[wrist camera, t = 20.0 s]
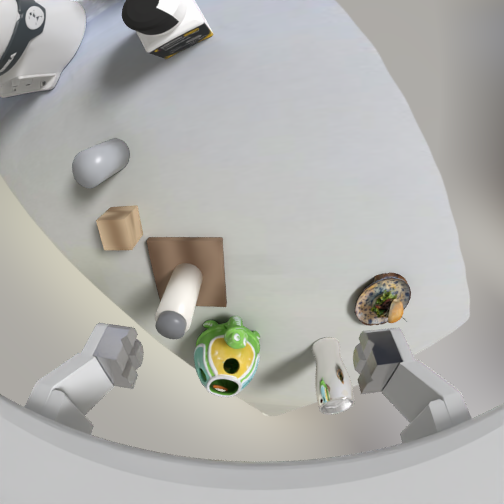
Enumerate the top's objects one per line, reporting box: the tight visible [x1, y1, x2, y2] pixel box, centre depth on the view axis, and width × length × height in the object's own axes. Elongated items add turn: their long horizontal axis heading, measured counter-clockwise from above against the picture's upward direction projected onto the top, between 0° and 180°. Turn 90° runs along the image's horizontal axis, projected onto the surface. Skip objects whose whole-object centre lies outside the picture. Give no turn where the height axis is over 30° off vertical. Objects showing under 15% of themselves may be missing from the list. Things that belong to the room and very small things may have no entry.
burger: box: [355, 273, 411, 326], centre depth 46 cm, size 12×12×8 cm
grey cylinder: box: [72, 138, 130, 188], centre depth 32 cm, size 5×5×8 cm
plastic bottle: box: [155, 263, 203, 339], centre depth 40 cm, size 5×5×12 cm
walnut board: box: [147, 237, 227, 307], centre depth 45 cm, size 12×13×1 cm
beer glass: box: [312, 337, 355, 414], centre depth 49 cm, size 7×7×15 cm
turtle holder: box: [194, 316, 260, 397], centre depth 48 cm, size 12×18×12 cm
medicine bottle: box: [122, 0, 213, 59], centre depth 21 cm, size 7×7×12 cm
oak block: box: [96, 206, 143, 250], centre depth 39 cm, size 5×5×5 cm
